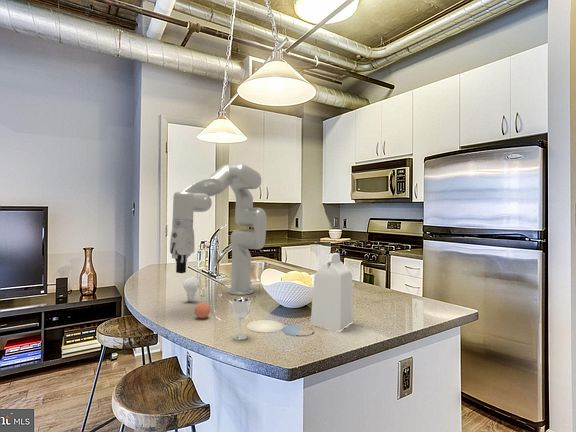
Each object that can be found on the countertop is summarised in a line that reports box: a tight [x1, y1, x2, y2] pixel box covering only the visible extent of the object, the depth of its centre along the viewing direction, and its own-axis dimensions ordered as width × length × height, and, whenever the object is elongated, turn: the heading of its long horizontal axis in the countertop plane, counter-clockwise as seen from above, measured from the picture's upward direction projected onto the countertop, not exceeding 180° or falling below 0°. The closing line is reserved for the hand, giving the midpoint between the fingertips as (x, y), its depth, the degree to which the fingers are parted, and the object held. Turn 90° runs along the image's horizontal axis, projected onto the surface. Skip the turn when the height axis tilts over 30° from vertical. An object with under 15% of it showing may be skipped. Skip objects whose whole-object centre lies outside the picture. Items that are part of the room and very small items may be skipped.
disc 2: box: [281, 324, 302, 337], centre depth 117 cm, size 11×11×1 cm
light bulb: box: [183, 276, 200, 303], centre depth 149 cm, size 7×7×11 cm
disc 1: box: [246, 319, 285, 334], centre depth 121 cm, size 13×13×1 cm
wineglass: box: [231, 297, 251, 341], centre depth 109 cm, size 6×6×12 cm
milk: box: [310, 252, 354, 330], centre depth 125 cm, size 12×12×26 cm
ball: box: [194, 302, 211, 319], centre depth 128 cm, size 6×6×6 cm
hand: (180, 272), depth 130 cm, fingers closed
